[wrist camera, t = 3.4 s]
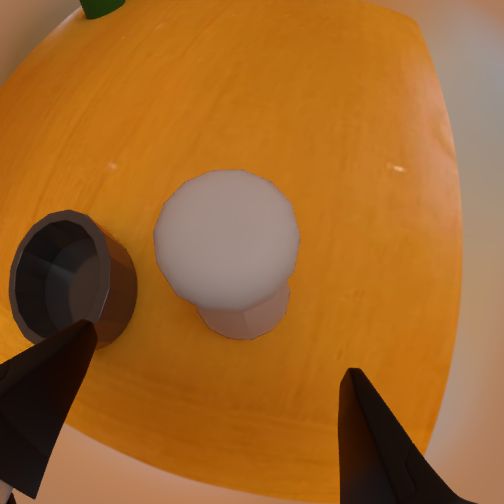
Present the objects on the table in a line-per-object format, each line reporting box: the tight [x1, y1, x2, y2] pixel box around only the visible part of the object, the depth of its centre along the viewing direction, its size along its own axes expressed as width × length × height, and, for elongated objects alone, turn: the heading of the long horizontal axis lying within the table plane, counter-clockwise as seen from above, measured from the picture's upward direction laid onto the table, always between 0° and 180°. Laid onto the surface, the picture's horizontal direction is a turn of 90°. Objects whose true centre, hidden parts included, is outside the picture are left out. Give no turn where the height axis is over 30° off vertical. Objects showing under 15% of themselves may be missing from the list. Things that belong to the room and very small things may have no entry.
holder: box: [9, 210, 137, 350], centre depth 18 cm, size 10×10×4 cm
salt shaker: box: [153, 170, 300, 340], centre depth 14 cm, size 6×6×13 cm
